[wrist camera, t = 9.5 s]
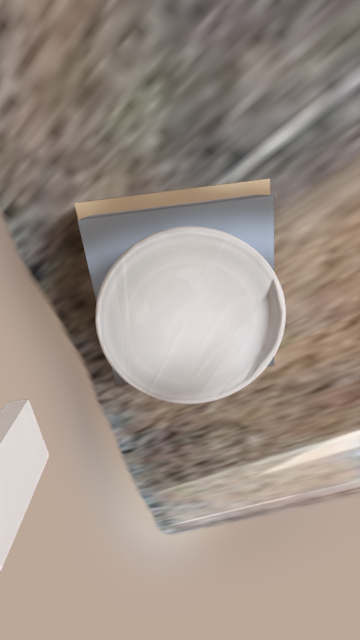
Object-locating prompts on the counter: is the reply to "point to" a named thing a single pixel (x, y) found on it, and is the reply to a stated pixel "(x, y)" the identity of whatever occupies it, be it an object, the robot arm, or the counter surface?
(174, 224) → the block tower
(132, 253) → the ramekin
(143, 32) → the counter surface
